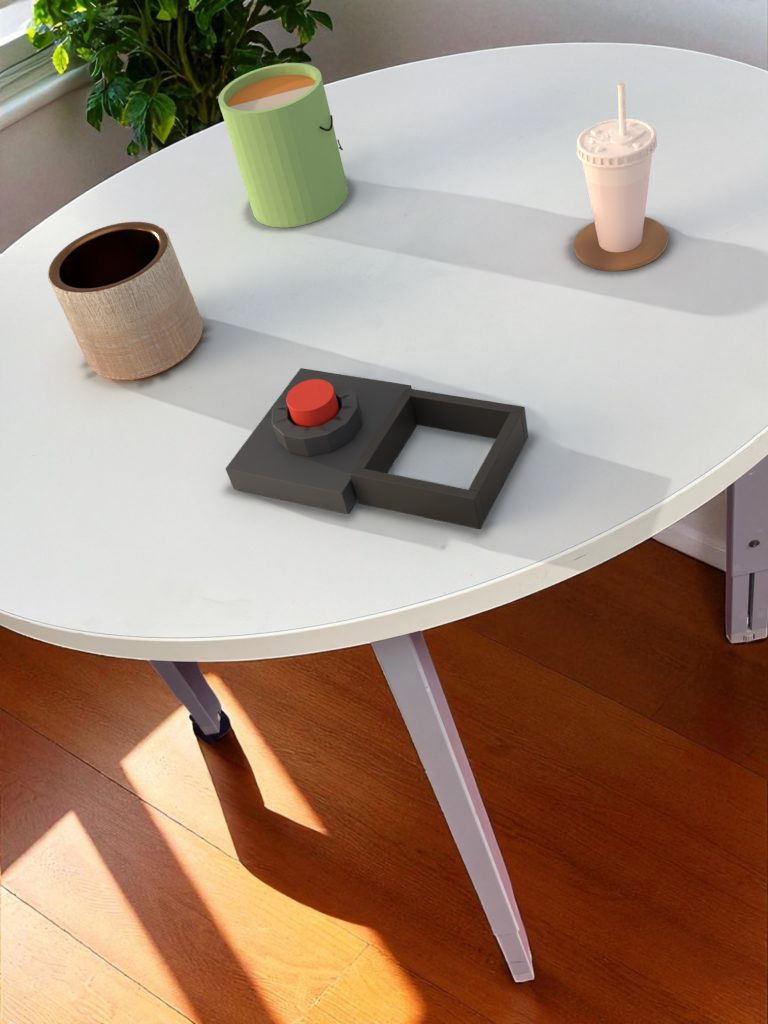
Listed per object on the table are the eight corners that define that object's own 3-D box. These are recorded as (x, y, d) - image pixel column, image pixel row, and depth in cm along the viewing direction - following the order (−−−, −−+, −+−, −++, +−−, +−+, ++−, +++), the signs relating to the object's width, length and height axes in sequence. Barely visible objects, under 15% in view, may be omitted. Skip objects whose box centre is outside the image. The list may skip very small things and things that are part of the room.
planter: (66, 376, 96) (20, 287, 89) (131, 304, 102) (93, 216, 95) (164, 392, 91) (124, 299, 85) (226, 315, 98) (194, 224, 91)
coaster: (678, 223, 94) (678, 217, 94) (652, 275, 90) (652, 270, 89) (590, 216, 98) (590, 211, 97) (561, 266, 93) (561, 261, 93)
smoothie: (663, 254, 90) (662, 96, 81) (587, 266, 91) (576, 111, 82) (652, 215, 95) (649, 60, 85) (579, 226, 96) (568, 74, 86)
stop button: (347, 400, 80) (342, 382, 79) (325, 432, 78) (319, 414, 77) (306, 393, 82) (300, 375, 81) (283, 424, 80) (277, 406, 78)
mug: (358, 211, 106) (331, 95, 98) (256, 237, 106) (220, 123, 98) (342, 154, 115) (316, 43, 107) (248, 178, 115) (215, 69, 107)
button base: (416, 406, 84) (407, 366, 81) (348, 514, 77) (336, 475, 74) (307, 388, 88) (295, 350, 85) (233, 489, 81) (217, 451, 78)
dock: (529, 437, 79) (525, 406, 77) (480, 529, 73) (474, 499, 71) (412, 417, 83) (405, 387, 81) (358, 503, 78) (349, 474, 75)
